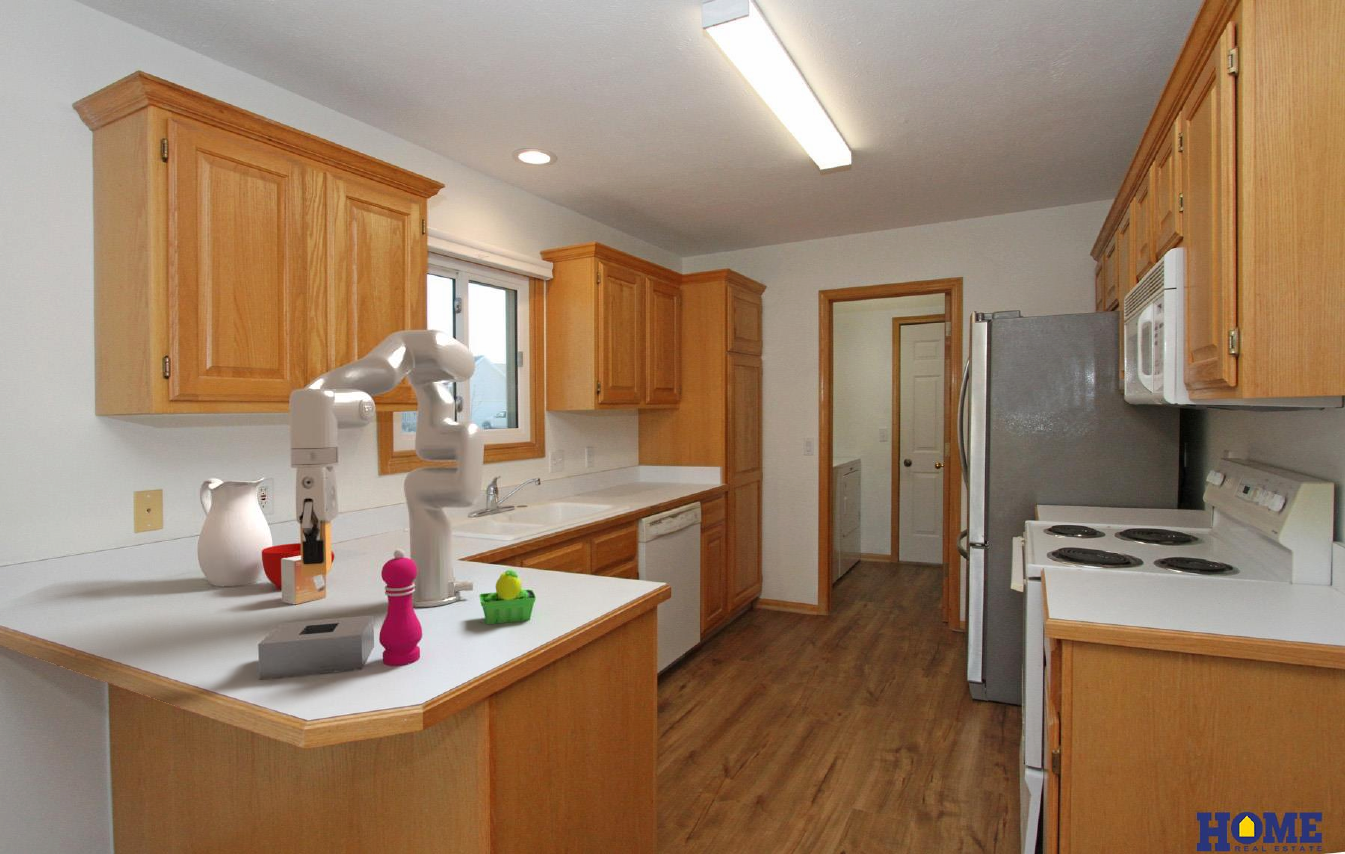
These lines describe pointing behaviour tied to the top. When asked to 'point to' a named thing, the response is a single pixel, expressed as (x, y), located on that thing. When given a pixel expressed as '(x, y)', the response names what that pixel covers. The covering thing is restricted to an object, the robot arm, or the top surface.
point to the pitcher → (232, 533)
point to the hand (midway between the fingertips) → (317, 559)
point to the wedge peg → (327, 564)
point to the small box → (300, 583)
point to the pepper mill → (400, 612)
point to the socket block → (316, 647)
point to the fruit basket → (508, 600)
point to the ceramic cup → (279, 560)
